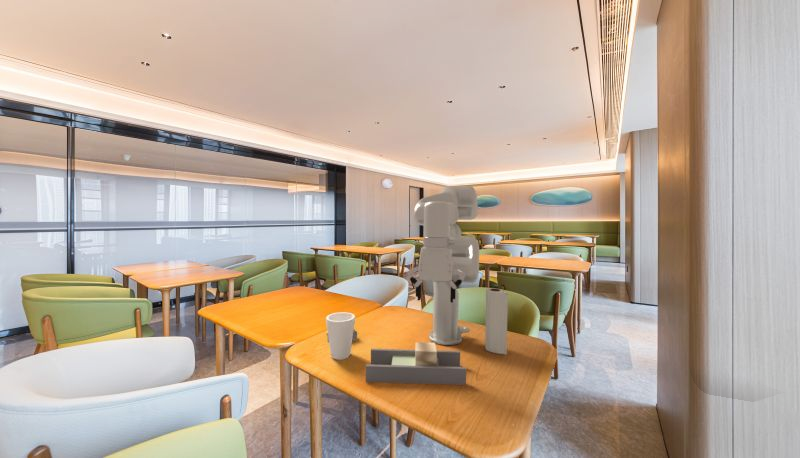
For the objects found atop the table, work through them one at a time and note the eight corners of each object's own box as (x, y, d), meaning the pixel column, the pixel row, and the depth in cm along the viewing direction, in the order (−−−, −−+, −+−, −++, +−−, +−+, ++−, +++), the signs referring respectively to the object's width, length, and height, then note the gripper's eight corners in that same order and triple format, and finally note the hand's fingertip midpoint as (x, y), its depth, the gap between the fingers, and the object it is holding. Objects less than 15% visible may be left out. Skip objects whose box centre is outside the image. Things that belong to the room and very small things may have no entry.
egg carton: (332, 348, 104) (332, 336, 104) (325, 340, 111) (325, 330, 110) (359, 341, 110) (359, 330, 110) (351, 334, 116) (351, 324, 116)
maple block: (434, 358, 90) (434, 342, 90) (436, 368, 84) (436, 351, 84) (415, 358, 90) (415, 342, 90) (415, 368, 84) (415, 351, 84)
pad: (415, 365, 92) (415, 355, 92) (415, 381, 83) (415, 370, 83) (392, 364, 92) (392, 355, 92) (390, 380, 83) (390, 370, 83)
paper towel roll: (483, 345, 106) (484, 287, 106) (499, 346, 106) (501, 287, 105) (488, 354, 99) (489, 292, 98) (506, 355, 99) (507, 292, 98)
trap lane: (459, 364, 92) (459, 350, 92) (465, 384, 81) (466, 368, 81) (371, 362, 93) (371, 348, 93) (365, 381, 82) (365, 366, 82)
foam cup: (340, 364, 92) (340, 323, 91) (320, 357, 97) (320, 318, 96) (360, 353, 100) (360, 315, 99) (340, 346, 105) (340, 310, 104)
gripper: (465, 242, 89) (464, 298, 89) (409, 241, 92) (408, 295, 93) (466, 245, 81) (465, 305, 82) (405, 243, 85) (404, 301, 85)
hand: (435, 300), depth 87 cm, fingers open, 9 cm apart
